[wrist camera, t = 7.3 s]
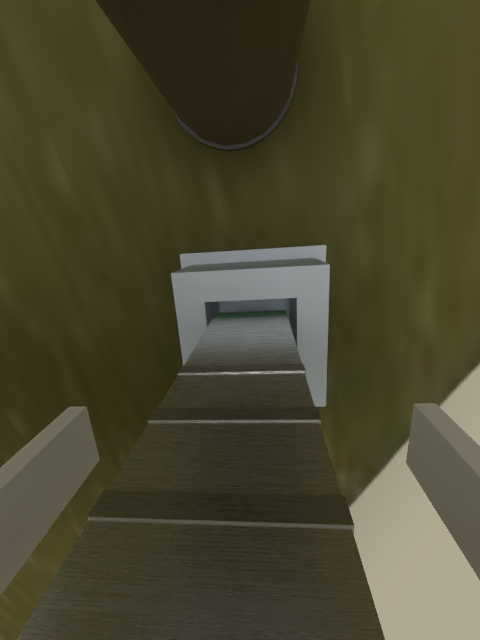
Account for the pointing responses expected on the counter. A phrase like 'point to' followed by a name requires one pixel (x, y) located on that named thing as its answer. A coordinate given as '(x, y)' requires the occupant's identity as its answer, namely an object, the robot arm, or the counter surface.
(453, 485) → the robot arm
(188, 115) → the canister
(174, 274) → the stand base
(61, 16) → the counter surface
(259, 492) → the column
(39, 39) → the counter surface
